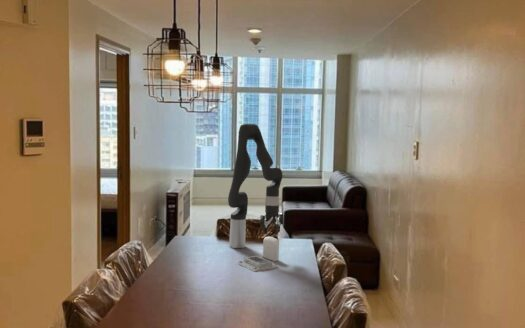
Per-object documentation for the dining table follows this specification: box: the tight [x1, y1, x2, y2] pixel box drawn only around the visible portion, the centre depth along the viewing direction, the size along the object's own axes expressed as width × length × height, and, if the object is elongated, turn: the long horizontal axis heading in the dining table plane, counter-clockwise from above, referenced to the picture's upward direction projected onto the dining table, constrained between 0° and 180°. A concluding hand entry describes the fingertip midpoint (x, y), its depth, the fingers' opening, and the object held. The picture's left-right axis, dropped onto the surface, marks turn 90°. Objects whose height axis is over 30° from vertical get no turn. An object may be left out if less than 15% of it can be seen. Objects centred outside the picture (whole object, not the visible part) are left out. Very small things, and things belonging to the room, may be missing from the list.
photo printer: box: [262, 236, 280, 262], centre depth 275 cm, size 10×4×12 cm, turn 39°
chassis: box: [237, 255, 279, 272], centre depth 261 cm, size 16×15×3 cm
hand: (271, 233), depth 274 cm, fingers open, 8 cm apart
